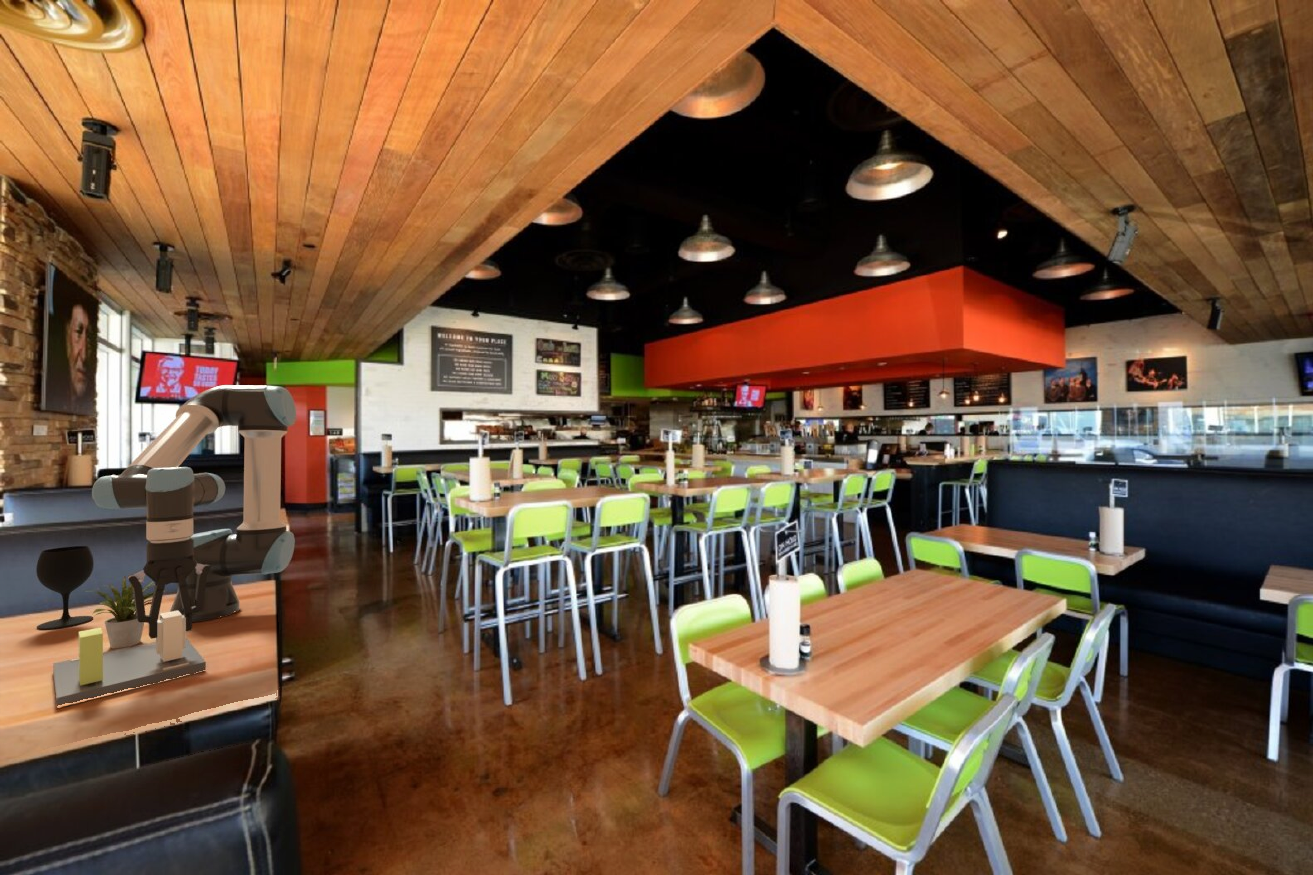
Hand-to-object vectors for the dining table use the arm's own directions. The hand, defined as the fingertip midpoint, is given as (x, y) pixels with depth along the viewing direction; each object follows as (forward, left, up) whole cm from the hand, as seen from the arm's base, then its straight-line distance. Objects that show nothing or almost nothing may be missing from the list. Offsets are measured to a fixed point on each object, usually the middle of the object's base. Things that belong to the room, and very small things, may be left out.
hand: (170, 649), depth 116 cm
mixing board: (+6, -4, -4) cm, 8 cm away
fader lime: (+12, +3, -2) cm, 12 cm away
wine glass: (+14, -61, -4) cm, 63 cm away
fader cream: (0, 0, -2) cm, 2 cm away
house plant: (+6, -26, -4) cm, 27 cm away
